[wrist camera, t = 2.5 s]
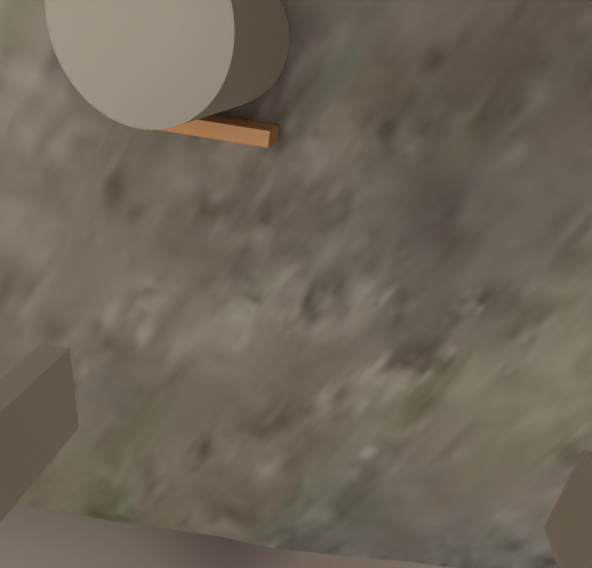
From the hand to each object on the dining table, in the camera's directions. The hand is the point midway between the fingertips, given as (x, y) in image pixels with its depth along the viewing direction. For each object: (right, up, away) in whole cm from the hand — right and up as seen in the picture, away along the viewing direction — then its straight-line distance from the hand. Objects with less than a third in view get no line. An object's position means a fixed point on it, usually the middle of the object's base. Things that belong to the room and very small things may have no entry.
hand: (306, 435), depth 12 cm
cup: (-5, +20, +18) cm, 27 cm away
